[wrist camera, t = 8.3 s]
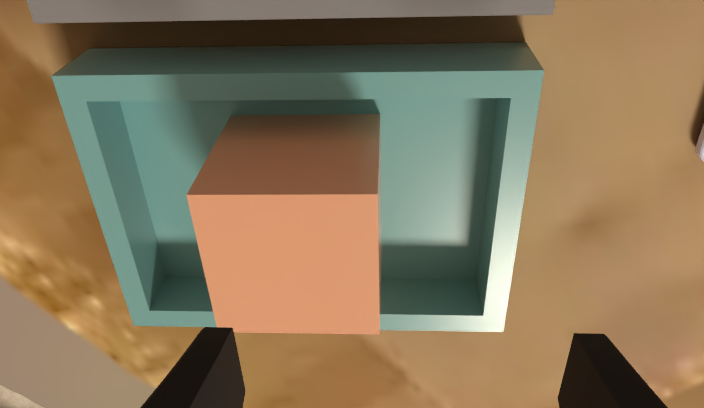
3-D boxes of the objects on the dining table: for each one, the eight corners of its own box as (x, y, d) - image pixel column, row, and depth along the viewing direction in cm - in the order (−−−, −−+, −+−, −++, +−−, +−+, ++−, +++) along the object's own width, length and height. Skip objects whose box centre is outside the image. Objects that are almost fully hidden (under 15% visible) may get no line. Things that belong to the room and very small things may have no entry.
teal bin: (526, 42, 18) (544, 70, 16) (492, 287, 23) (503, 331, 21) (89, 48, 19) (51, 75, 17) (156, 282, 24) (133, 325, 22)
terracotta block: (380, 113, 19) (377, 194, 15) (381, 236, 22) (379, 334, 17) (230, 115, 19) (186, 194, 15) (250, 236, 22) (217, 332, 18)
